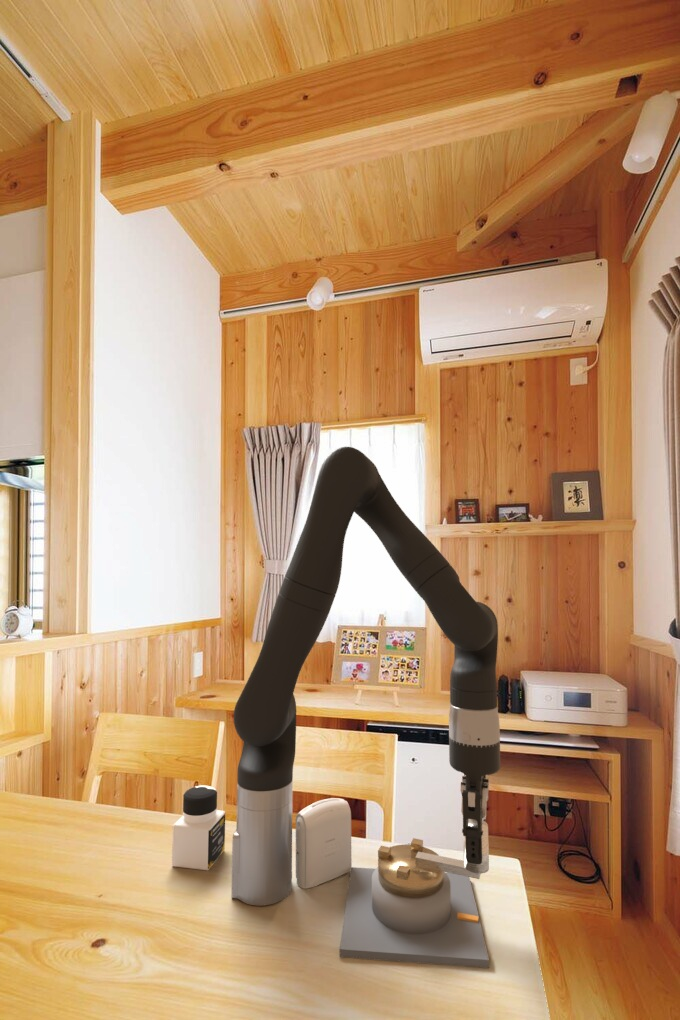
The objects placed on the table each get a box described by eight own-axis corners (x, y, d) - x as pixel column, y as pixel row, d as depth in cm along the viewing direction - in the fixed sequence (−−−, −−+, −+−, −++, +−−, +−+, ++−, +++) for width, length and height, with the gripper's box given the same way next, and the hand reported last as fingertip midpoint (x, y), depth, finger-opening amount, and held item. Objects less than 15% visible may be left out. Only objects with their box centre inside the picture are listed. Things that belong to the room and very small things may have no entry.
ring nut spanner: (369, 888, 80) (369, 820, 81) (388, 854, 90) (388, 794, 91) (485, 916, 74) (483, 842, 75) (493, 876, 83) (491, 811, 84)
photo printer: (304, 893, 88) (304, 813, 89) (291, 880, 92) (291, 804, 93) (355, 873, 94) (355, 798, 95) (341, 861, 97) (341, 789, 99)
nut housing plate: (339, 957, 74) (339, 917, 74) (351, 873, 94) (351, 842, 94) (489, 968, 72) (488, 927, 72) (468, 880, 92) (468, 849, 92)
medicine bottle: (208, 871, 94) (210, 799, 95) (171, 867, 96) (173, 796, 97) (225, 850, 101) (226, 783, 102) (190, 846, 103) (191, 780, 104)
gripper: (498, 753, 74) (501, 878, 73) (500, 724, 88) (503, 829, 86) (443, 747, 77) (445, 868, 75) (454, 719, 90) (455, 822, 89)
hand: (476, 847), depth 81 cm, fingers open, 8 cm apart
